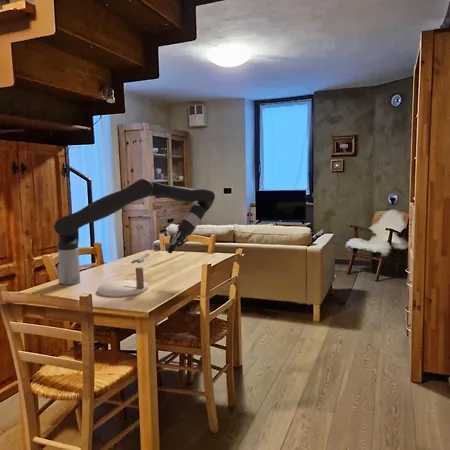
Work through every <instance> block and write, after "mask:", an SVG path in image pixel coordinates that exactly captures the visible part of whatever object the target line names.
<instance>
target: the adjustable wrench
mask: <svg viewBox="0 0 450 450" xmlns="http://www.w3.org/2000/svg"><path fill="white" fill-rule="evenodd" d="M149 256H150V253H145V254H144V255H142V256H140V257H138V258H135V259H132V260H131V263H132V264H135V263H143V262H144V261H145V259H147V258H148V257H149ZM144 258H145V259H144Z"/></svg>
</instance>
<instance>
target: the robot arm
mask: <svg viewBox="0 0 450 450" xmlns="http://www.w3.org/2000/svg"><path fill="white" fill-rule="evenodd" d="M148 197H159V198H160V197H161V198H166V199H170V200H173V201H178V202H184V203H190V204H191V203H194V202H196V203H195V204H193V206H192V207H191V208H190V210H189V211H188V212H187V213H186V214H185V216H184V217H183V218H182V220H181V221H180V223H179V224H178V226H177V231H176V232H175V233H174V234H172V233H171V234H170V235H169V237H170V238H169V244H170V245H169V246H168V248H167V249H166V252H167V253H168V254H173V252H174V250H175V249H176V248H180V247H181V246H183V245H185V243H187V242H188V241H189V239H188V237H189V236H191V235H192V234H193V233H194V231H195V230H196V228H197V227H198V226H199V224H200V222H201V220H202V219H203V217H204V215H205V214H206V213H207V212H208V211H209V209H210V208H211V207H212V205H213V203H214V200H215V198H216V195H215V192H214V191H213V190H211V189H208V188H189V187H184V186H183V187H182V186H177V185H168V184H162V183H159V182H156V181H153V180H150V179H148V178H139V179H137V180H136V181H135V182H133V183H131V185H128V186H127V187H125V188H123V189H121V190H119V191H116V192H112V193H110V194H107V195H105V196H102V197H101V198H99V199H96V200H95V201H93V202H91V203H89V204H87V205H86V206H84V207H83V208H80V209H79V210H78V211H75V212H73V213H71V214H68V215H64V216H62V217H59V218H57V220H56V221H55V223H54V226H53V228H54V231H55V233H56V234H58V235H59V239H58V244H57V252H58V262H59V263H58V264H57V272H58V274H57V275H58V284H60V283H61V284H60V285H62V284H64V286H70V285H76V284H79V283H81V273H80V272H81V270H80V259H79V257H80V255H79V240H80V238H79V236H80V234H79V231H80V230H79V229H80V228H82V227H83V226H86V225H88V224H91V223H93V222H94V223H95V222H97V221H100V220H102V219H104V218H107V217H109V216H111V215H113V214H115V213H117V212H118V211H120V210H122V209H124V208H125V207H126V206H127V205H129V204H131V203H134V202H136V201H138V200H142V199H145V198H148Z"/></svg>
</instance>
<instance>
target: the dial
mask: <svg viewBox="0 0 450 450" xmlns="http://www.w3.org/2000/svg"><path fill="white" fill-rule="evenodd" d="M144 279H145V278H144V267H142V266H140V267H135V280H130V279H128V280H117V281H111V282H108V283H104V284H102V285H99V286H98V287H97V294H98V295H100V296H104V297H110V298H111V297H112V298H120V297H122V298H123V297H129V296H137V295H140V294H142V293H146V292H147V291H148V289H149V284H148V282H146V281H144Z"/></svg>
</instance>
